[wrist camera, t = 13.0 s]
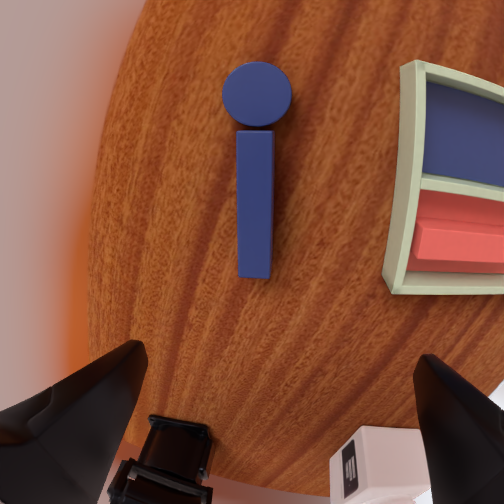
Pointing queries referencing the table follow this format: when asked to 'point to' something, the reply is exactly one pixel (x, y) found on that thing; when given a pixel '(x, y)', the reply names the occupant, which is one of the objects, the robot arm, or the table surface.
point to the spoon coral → (457, 240)
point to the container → (379, 467)
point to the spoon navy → (256, 159)
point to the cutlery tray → (445, 176)
